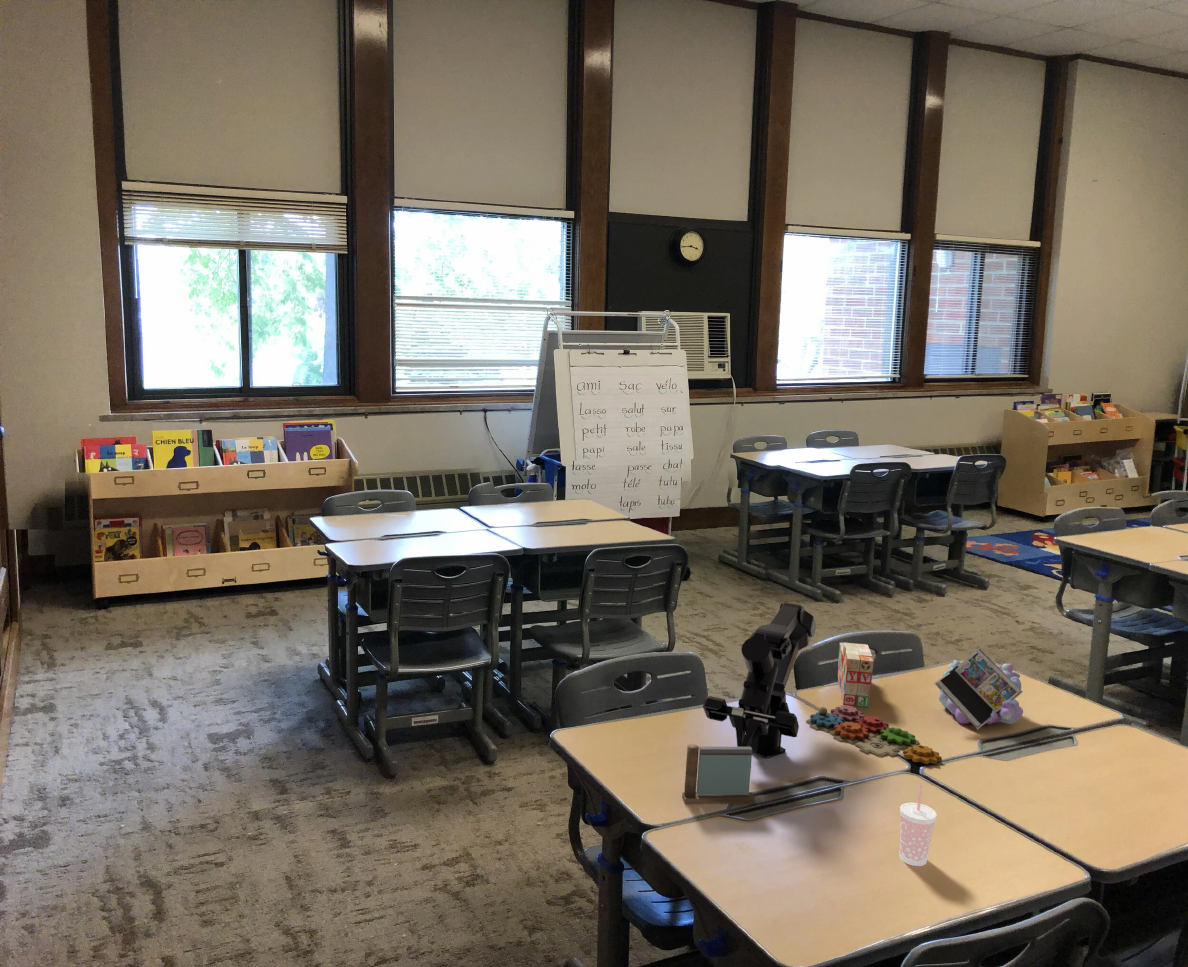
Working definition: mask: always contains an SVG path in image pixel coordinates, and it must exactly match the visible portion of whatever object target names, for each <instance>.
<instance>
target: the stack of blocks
mask: <svg viewBox="0 0 1188 967" xmlns="http://www.w3.org/2000/svg"><path fill="white" fill-rule="evenodd" d="M873 658H874V657H873V655H872V651H871V649H870V647H869V645H868V644H865V643H853V642H851V643H850V642H839V644H838V662H837V665H838V666H837V680H838V685H839V689H840V694H841V699H842V700H841V701H842V705H844V706H845V705H848V706H853V707H861V708H869V707H870V699H871V696H870V695H871V685H872V679H873V669H874V662H875V661H874V659H873Z"/></svg>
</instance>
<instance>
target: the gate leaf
mask: <svg viewBox="0 0 1188 967" xmlns="http://www.w3.org/2000/svg"><path fill="white" fill-rule="evenodd" d="M752 758H753V751H752V748H751V747H737V746H699V754H698V769H697V783H696V792H697V794H698V795H749V792H750V783H751V774H752V773H751V772H752Z"/></svg>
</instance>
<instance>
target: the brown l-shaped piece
mask: <svg viewBox="0 0 1188 967" xmlns="http://www.w3.org/2000/svg"><path fill="white" fill-rule="evenodd" d="M699 750H700V746H699V745H697V744H694V743H693V744H692V743H691V744H688V745H687V749H686V762H685V776H684V777H685V778H684V792H682V795H681V797H682V801H683V803H684V804H685V805H712V804H713V805H722V804H723V805H733V804H734V805H740V804H741V805H745V804H746V805H748V804H749V805H755V804H756V797H755V796H754V794H753V793H752V792H750V791H749V795H698V794H697V779H698V764H699Z"/></svg>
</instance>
